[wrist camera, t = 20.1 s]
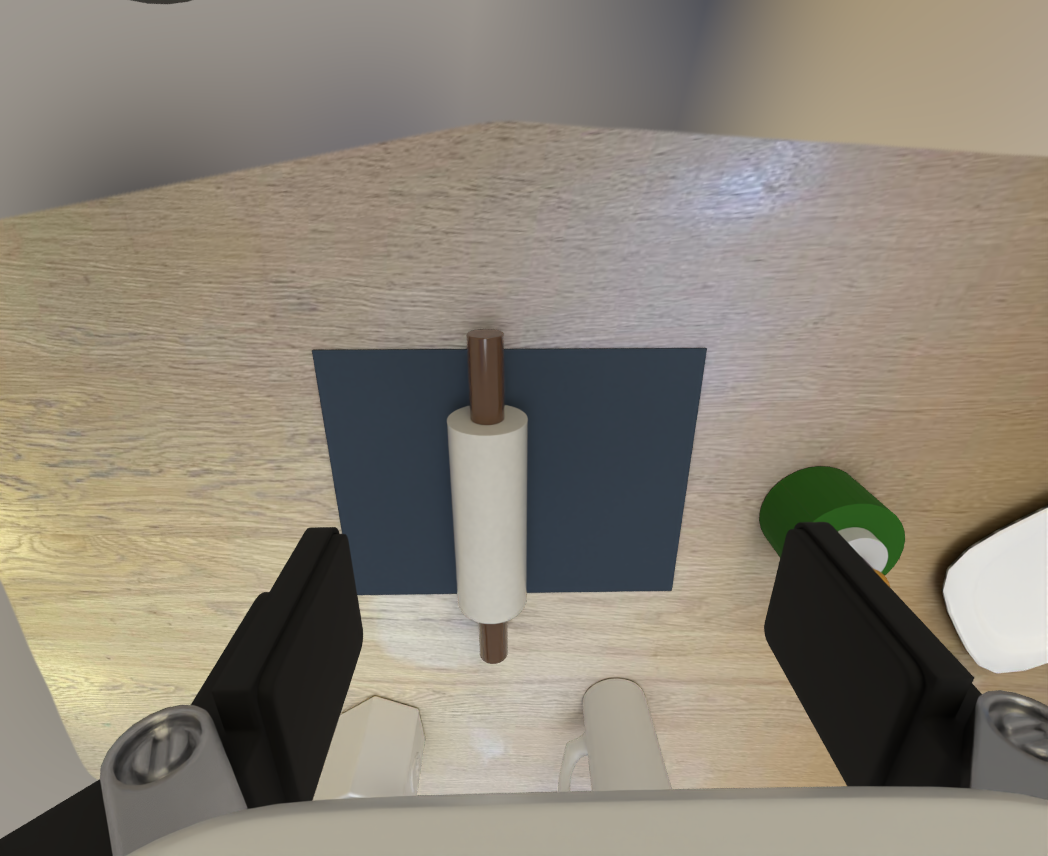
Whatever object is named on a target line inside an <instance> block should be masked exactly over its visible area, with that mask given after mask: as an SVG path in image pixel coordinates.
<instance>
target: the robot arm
mask: <svg viewBox="0 0 1048 856" xmlns="http://www.w3.org/2000/svg"><path fill="white" fill-rule="evenodd" d="M764 632H765V637H766V640H767V642H768V644H769V646H770V648H771V650H772V652H773V653H774V655H775V657H776V659H777V661H778V662H779V664H780V666H781V668H782V669H783V671H784V673H785V675H786V677H787V678H788V680H789V682H790V684H791V686H792V687H793V689H794V691H795V693H796V695H797V696H798V698H799V700H800V702H801V704H802V705H803V707H804V709H805V711H806V713H807V714H808V716H809V718H810V720H811V722H812V723H813V725H814V727H815V729H816V731H817V732H818V734H819V736H820V738H821V740H822V741H823V743H824V745H825V747H826V749H827V750H828V752H829V754H830V756H831V758H832V759H833V761H834V763H835V765H836V767H837V768H838V770H839V772H840V774H841V776H842V777H843V779H844V781H845V783H846V785H847V786H842V787H776V788H711V789H662V790H614V791H569V792H528V793H491V794H454V795H417V796H393V797H371V798H349V799H326V800H314V801H313V798H314V794H315V791H316V788H317V785H318V782H319V779H320V776H321V773H322V770H323V766H324V763H325V760H326V757H327V754H328V751H329V748H330V745H331V741H332V738H333V735H334V732H335V729H336V726H337V723H338V720H339V717H340V713H341V710H342V707H343V704H344V701H345V698H346V695H347V692H348V689H349V685H350V682H351V679H352V676H353V673H354V670H355V667H356V664H357V660H358V657H359V654H360V651H361V648H362V642H363V628H362V621H361V615H360V609H359V603H358V597H357V590H356V584H355V578H354V572H353V565H352V559H351V553H350V547H349V541H348V537H347V535H346V534H339V531H338V529H337V528H336V527H318V528H308V529H307V530H306V531H305V533H304V534H303V536H302V538H301V539H300V541H299V543H298V544H297V546H296V548H295V550H294V551H293V553H292V555H291V556H290V558H289V560H288V561H287V563H286V565H285V566H284V568H283V570H282V572H281V573H280V575H279V577H278V578H277V580H276V582H275V583H274V585H273V587H272V589H271V590H270V592H263V593H262V594H260V595H259V596H258V597H257V598H256V600H255V601H254V603H253V604H252V606H251V607H250V609H249V611H248V612H247V614H246V616H245V617H244V619H243V621H242V622H241V624H240V625H239V627H238V629H237V630H236V632H235V634H234V635H233V637H232V638H231V640H230V642H229V643H228V645H227V647H226V648H225V650H224V652H223V653H222V655H221V656H220V658H219V660H218V661H217V663H216V665H215V666H214V668H213V670H212V671H211V673H210V674H209V676H208V678H207V679H206V681H205V683H204V684H203V686H202V687H201V689H200V691H199V692H198V694H197V696H196V697H195V699H194V701H193V702H192V704H191V705H178V706H173V707H168V708H165V709H162V710H160V711H157V712H155V713H152V714H150V715H148V716H147V717H145V718H143V719H142V720H140V721H139V722H137V723H135V724H134V725H132V726H131V727H130V728H129V729H128V730H127V731H126V732H124V733H123V734H122V735H121V736H120V737H119V738H118V739H117V740H116V742H115V743H114V744H113V745H112V747H111V748H110V749H109V750H108V752H107V754H106V756H105V758H104V761H103V763H102V765H101V773H100V780H98V781H96V782H95V783H93V784H91V785H90V786H88V787H86V788H85V789H83V790H82V791H80V792H78V793H76V794H75V795H73V796H71V797H70V798H68V799H66V800H65V801H63V802H61V803H60V804H58V805H56V806H55V807H53V808H51V809H50V810H48V811H46V812H45V813H43V814H41V815H40V816H38V817H36V818H35V819H33V820H31V821H30V822H28V823H27V824H25V825H23V826H21V827H20V828H18V829H16V830H15V831H13V832H11V833H10V834H8V835H6V836H5V837H3V838H1V839H0V856H1048V706H1047V705H1045V704H1043V703H1041V702H1039V701H1036V700H1034V699H1032V698H1029V697H1026V696H1023V695H1020V694H1017V693H1013V692H1007V691H1001V690H998V691H988V692H986V693H984V694H981V693H980V692H979V690H978V689H977V688H976V687H975V686H974V685H973V684H972V682H973V679H974V677H973V676H972V675H971V674H970V673H969V672H968V671H967V669H966V668H965V667H964V666H963V665H962V664H961V663H960V662H959V661H958V660H957V659H956V658H955V657H954V656H953V654H952V653H951V652H950V651H949V650H948V649H947V648H946V647H945V646H944V645H943V644H942V643H941V642H940V641H939V639H938V638H937V637H936V636H935V635H934V634H933V633H932V632H931V631H930V630H929V629H928V628H927V627H926V626H925V624H924V623H923V622H922V621H921V620H920V619H919V618H918V617H917V616H916V615H915V614H914V613H913V612H912V611H911V609H910V608H909V607H908V606H907V605H906V604H905V603H904V602H903V601H902V600H901V599H900V598H899V597H898V596H897V594H896V593H895V592H894V591H893V590H892V589H891V588H890V587H889V586H888V585H887V584H886V583H885V582H884V581H883V579H882V578H881V577H880V576H879V575H878V574H877V573H876V572H875V571H874V570H873V569H872V568H871V567H870V566H869V564H868V563H867V562H866V561H865V560H864V559H863V558H862V557H861V556H860V555H859V554H858V553H857V552H856V551H855V550H854V548H853V547H852V546H851V545H850V544H849V543H848V542H847V541H846V540H845V539H844V538H843V537H842V536H841V535H840V533H839V532H838V531H837V530H836V529H835V528H834V527H833V526H832V525H831V524H830V523H828V522H799V523H797V524H796V525H795V527H794V529H790V530H789V531H788V532H787V534H786V538H785V542H784V546H783V550H782V554H781V558H780V562H779V566H778V570H777V575H776V579H775V583H774V587H773V591H772V595H771V599H770V603H769V607H768V612H767V616H766V620H765V625H764Z"/></svg>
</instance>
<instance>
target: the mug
mask: <svg viewBox="0 0 1048 856" xmlns="http://www.w3.org/2000/svg"><path fill="white" fill-rule="evenodd" d="M582 704H583V715H584V726H585V732H584V734H583V735H582V736H580V737H579V738H577V739H575V740H572V741H569V742H568V743H567V744H566V747H565V752H564V756H563V761H562V765H561V769H560V775H559V782H558V792H569V791H570V781H571V775H572V772H573V769H574V767H575V765H576V763H577V761H578V760H579V759H580V758H582V757H584V756H587V755H588V762H589V771H590V780H591V789H592V791H614V790H662V789H672V787H671V783H670V780H669V777H668V773H667V770H666V766H665V763H664V759H663V756H662V752H661V749H660V745H659V742H658V738H657V735H656V731H655V728H654V724H653V720H652V717H651V714H650V711H649V708H648V704H647V701H646V697H645V694H644V692H643V690H642V689H641V688H640V687H639V686H638V685H637V684H635V683H634V682H632V681H629V680H626V679H618V678H616V679H607V680H603V681H601V682H598V683H596V684H595V685H593V686H592V687H590V688H589V689H588V691H587V692H586V693H585V695H584V697H583V703H582Z"/></svg>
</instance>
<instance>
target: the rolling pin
mask: <svg viewBox="0 0 1048 856" xmlns="http://www.w3.org/2000/svg"><path fill="white" fill-rule="evenodd" d="M467 358H468V382H469V406H466V407H463V408H460V409H458V410H456V411H454V412H452V413H451V414H450V415H449V416H448V418H447V435H448V451H449V467H450V484H451V500H452V516H453V533H454V549H455V565H456V582H457V598H458V606H459V608H460V610H461V612H462V613H463V614H464V615H465V616H466V617H468V618H469V619H471V620H473V621H476V622H479V646H480V656H481V658H482V660H483V661H485V662H487V663H490V664H496V663H500V662H502V661H503V660H504V659H505V658H506V657H507V654H508V634H507V621H508V620H511V619H513V618H514V617H516V616H517V615H518V614H519V613H520V612H521V611H522V610H523V609H524V607H525V605H526V601H527V477H528V417H527V415H526V414H525V413H524V412H523V411H521V410H520V409H518V408H515V407H512V406H508V405H505V395H504V333H503V332H502V331H499V330H494V329H478V330H473V331H470V332H468V333H467Z"/></svg>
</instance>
